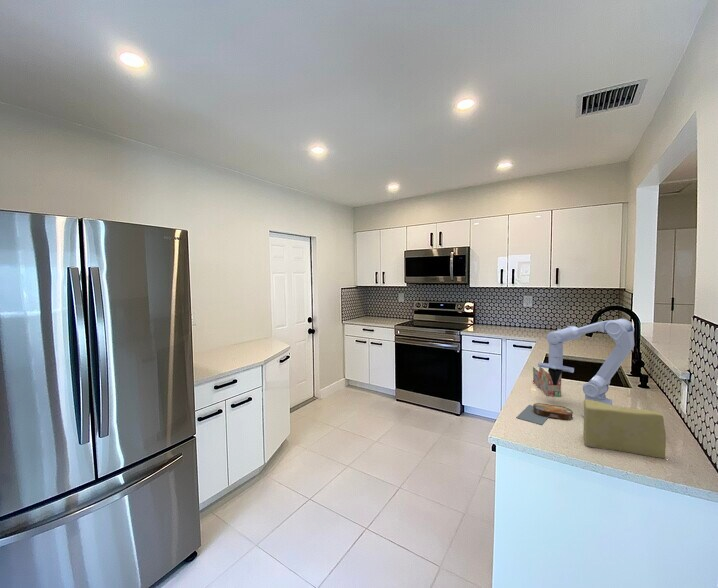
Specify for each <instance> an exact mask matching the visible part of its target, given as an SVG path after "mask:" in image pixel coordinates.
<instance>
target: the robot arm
mask: <svg viewBox="0 0 718 588" xmlns="http://www.w3.org/2000/svg"><path fill="white" fill-rule="evenodd" d="M594 332H601V333H604V334H605V333H607V335H608V336H610V338H611V339H612V340H613V342H614V343H615V346H614V348H613V349H612V350H611V352H610V354H609V355H608V356H607V358H606V359H605V361H604V362H603V363H602V365H601V366H600V368H599V370H598V371H597V372H596V374H595V375H594V376H593V377H592V378H591V379H590V380H589V381H588V382H585V383H584V384H583V385H582V391H583V394H584V400H585V399H588V400H593V401H597V402H602V403H606V404H610V405H613V400H612V399H611V398H607V396H606V393H607V392H608V391H609V386H610V384H611V380H612V378H613V377H614V376H615V374H616V373H617V371H618V370H619V369H620V367H621V365H622V364H623V363H624V361H625V360H626V358H628V356H629V355H630V353H631V352H632V350H633V349H634V347H635V328H634V326H633V324H632V322H631V321H629V319H626V318H619V319H610V320H604V321H603V320H602V321H597V322H593V323H591V324H588V325H587V324H586V325H584V326H580V327H577V326H575V325H567V327H566V328H558V329H556V330H555V331H550V332H548V333H547V334H546V340H547V342H548V363H547V362H538V363H537V367H543V368H549V370H548V372H549V374H550V376H551V378H552V382H553V385H557V383H558V379H559V377H560V375H561V376H562V373H563V372H568V373H572V374H573V373H574V372H575V367H571V366H566V365H563V363H564V362H563V361H564V360H563V359H564V343H565V342H569V341H573V340H574V341H575V340H578V339H580V338H581V337H582V335H586V334H589V333H590V334H591V333H594ZM581 417H583V418H584V412H583V413H582V415H581Z"/></svg>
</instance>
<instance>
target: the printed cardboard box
mask: <svg viewBox="0 0 718 588" xmlns="http://www.w3.org/2000/svg"><path fill="white" fill-rule="evenodd" d="M548 370H549V368H543V367H538V366H532V373H533V374H532V377H533V378H532V383H533V382H534V383H535V384H536V385H537V386H538V387H539V388H538V387H537V386H536V385H535V384H534V383H533V384H534V385H535V386H536V387H537V388H538V389H540V390H541V391H542V392H543V393H544V394H545V396H547V397H557V398H561V396H562V374H561V375H560V377H559V379H558V383H557V385H553V382H552V378H551V376H550V374H549V372H548Z"/></svg>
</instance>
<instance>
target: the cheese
mask: <svg viewBox="0 0 718 588" xmlns="http://www.w3.org/2000/svg"><path fill="white" fill-rule="evenodd" d="M583 413H584V417H583V434H582V435H583V436H582V437H583V441H584V442H583V443H584V445H585V446H586V447H589V448H597V449H605V450H611V451H619V452H623V453H624V452H625V453H631V454H635V455H641V456H647V457H652V458H659V459H664V458H665V457H666V447H667V444H666V441H667V440H666V437H667V436H666V427H665V419H664V416H663V414H662V413H660V412H658V411H654V410H649V409H648V410H647V409H639V408H633V407H629V406H628V407H626V406H619V405H615V404H612V405H610V404H606V403H602V402H597V401H593V400H588V399H585V398H584V402H583Z"/></svg>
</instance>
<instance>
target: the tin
mask: <svg viewBox="0 0 718 588" xmlns="http://www.w3.org/2000/svg"><path fill="white" fill-rule="evenodd" d="M532 406H533V410H534V412H535V413H537V414H539V415H541V416H546V417H548V418H553V419H559V420H569V421H570V420H571V419H572V418H573V414H574V412H573V410H572V409H570V408H567V407H564V406H560V405H554V404H548V403H543V402H542V403H541V402H536V403H533V405H532Z"/></svg>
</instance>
